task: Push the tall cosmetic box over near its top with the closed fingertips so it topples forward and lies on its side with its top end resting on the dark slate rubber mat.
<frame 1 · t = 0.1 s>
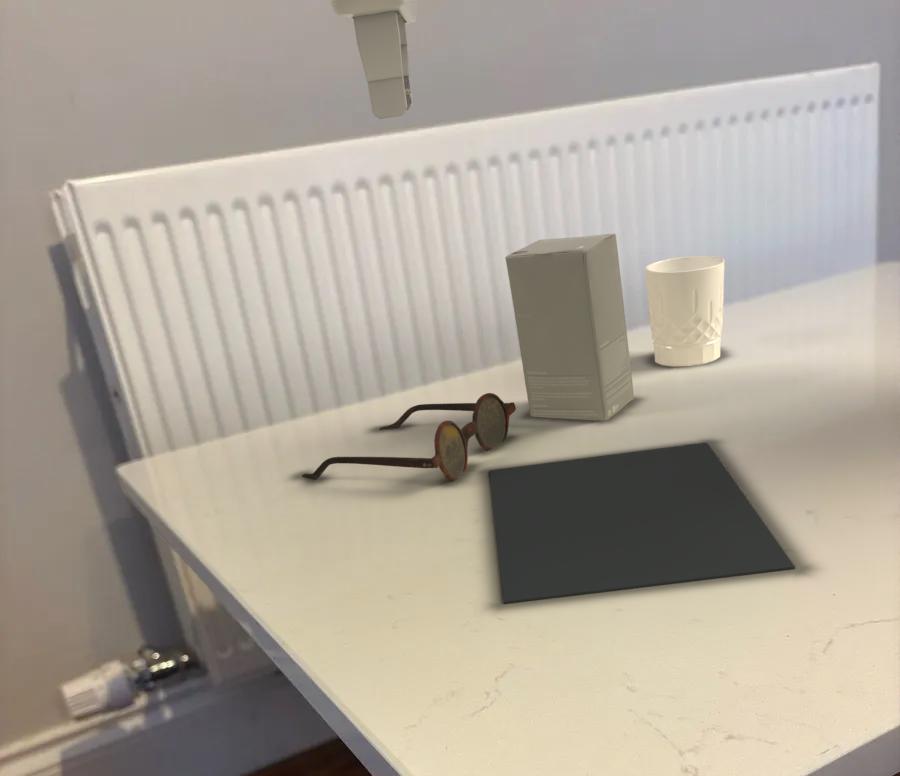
hand: (395, 114, 58), 28 cm above the table, tool pointing down, fingers open, 8 cm apart
white cup: (687, 363, 108), on the table
mat: (628, 540, 71), on the table
eyeglasses: (410, 461, 92), on the table
cosmetic box: (578, 415, 98), on the table
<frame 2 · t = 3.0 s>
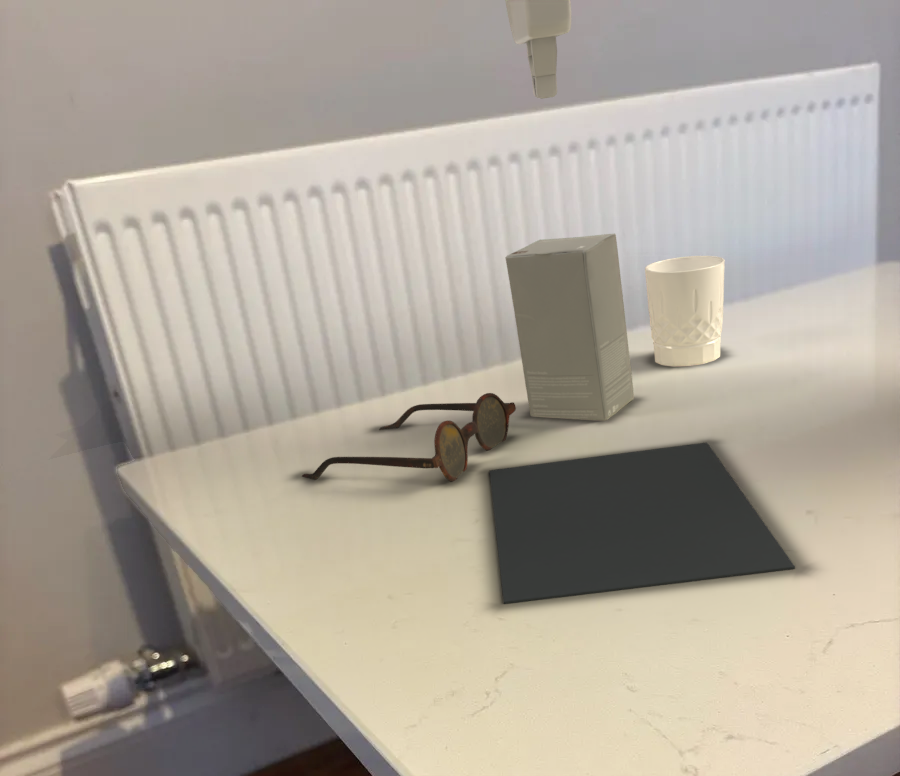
hand: (545, 97, 92), 27 cm above the table, tool pointing down, fingers closed
nothing on the table moved.
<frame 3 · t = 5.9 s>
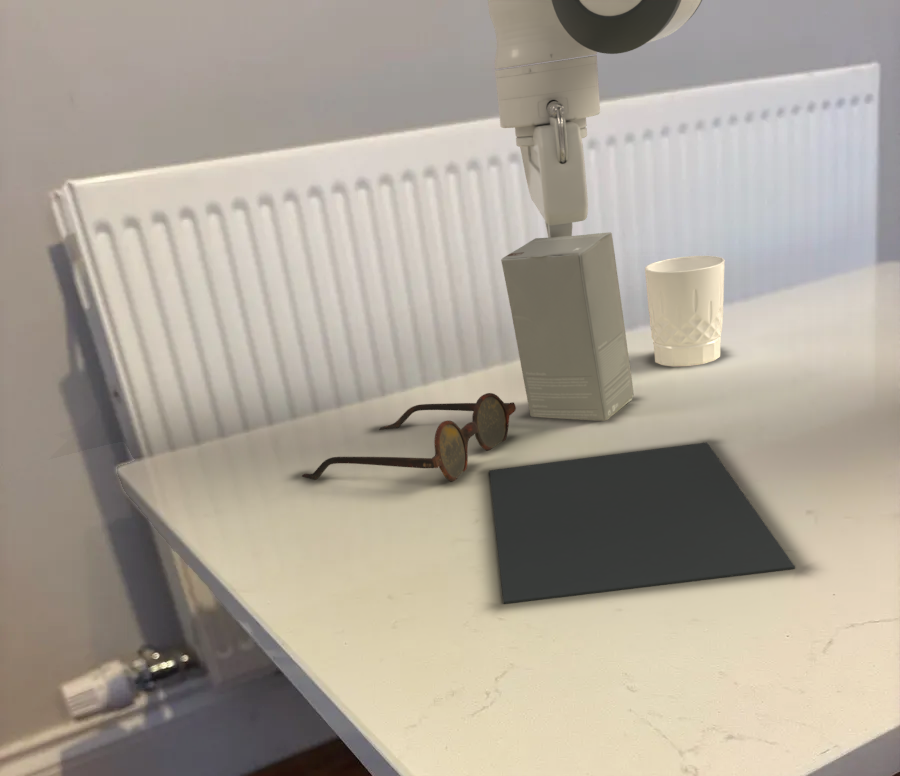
hand: (561, 262, 96), 13 cm above the table, tool pointing down, fingers closed
nothing on the table moved.
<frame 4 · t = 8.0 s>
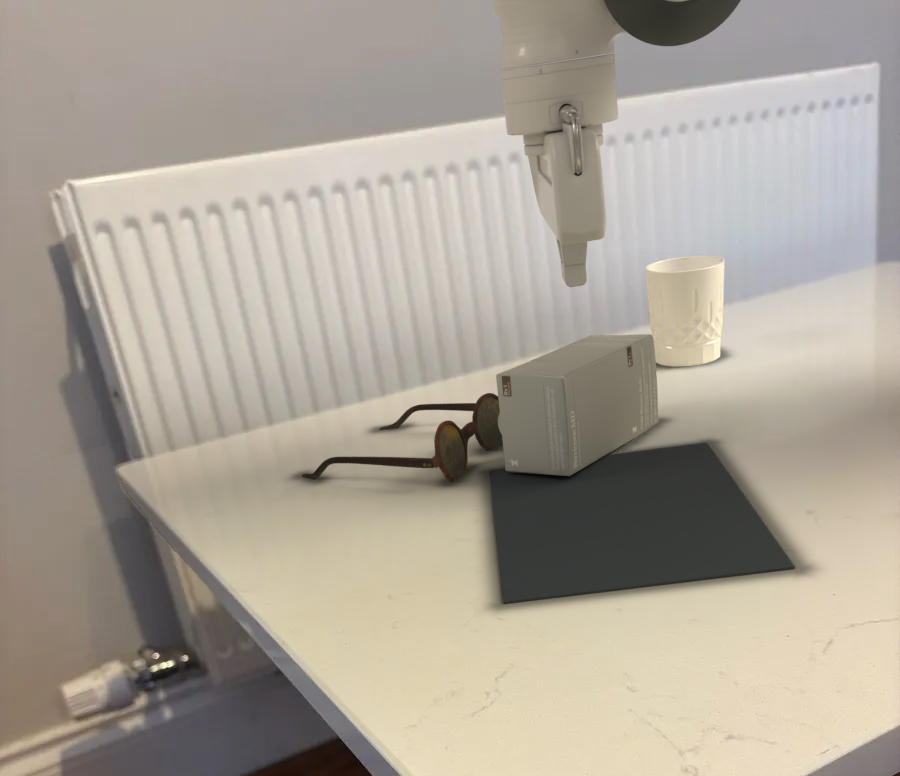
hand: (574, 283, 87), 13 cm above the table, tool pointing down, fingers closed
cosmetic box: (622, 375, 92), point 4 cm above the table, touching mat
everything else where it was.
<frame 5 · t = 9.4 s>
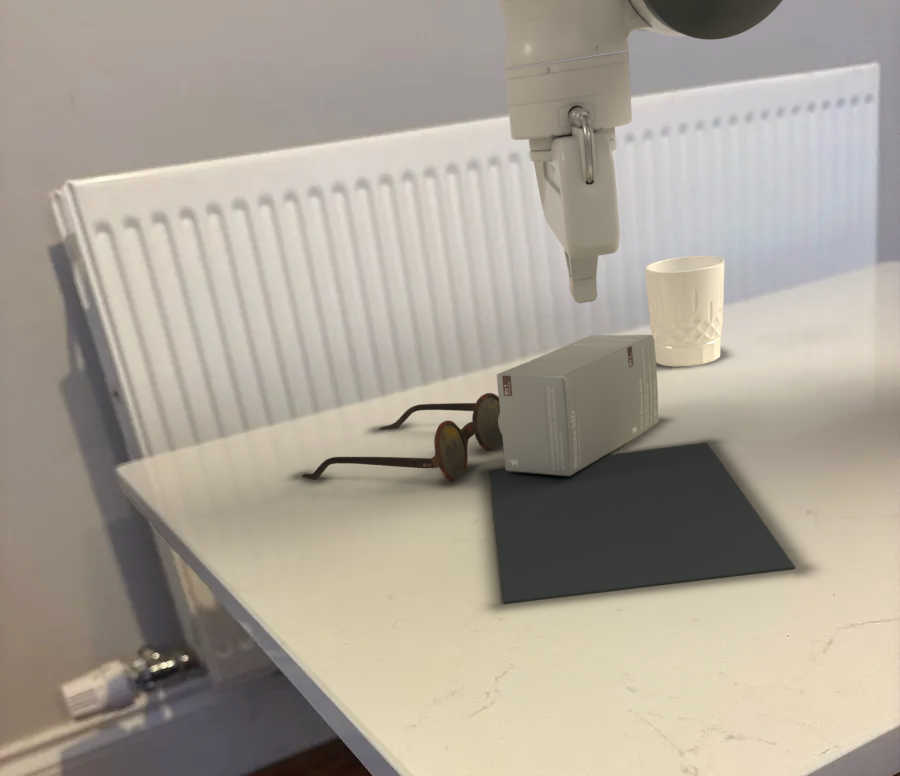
hand: (583, 299, 81), 13 cm above the table, tool pointing down, fingers closed
nothing on the table moved.
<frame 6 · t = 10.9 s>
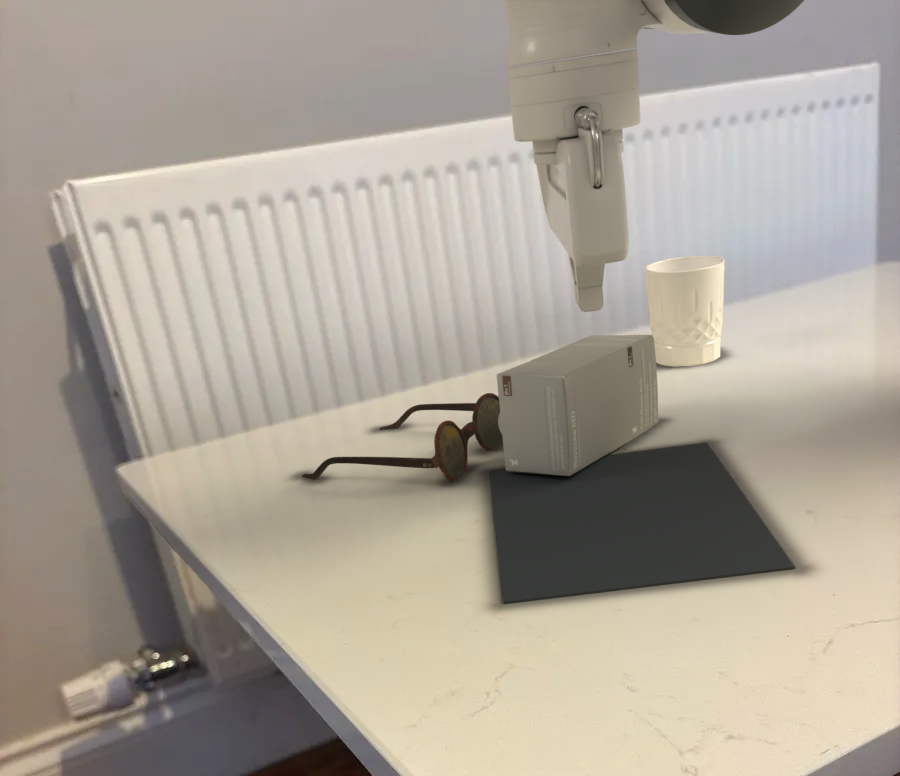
hand: (589, 307, 77), 13 cm above the table, tool pointing down, fingers closed
nothing on the table moved.
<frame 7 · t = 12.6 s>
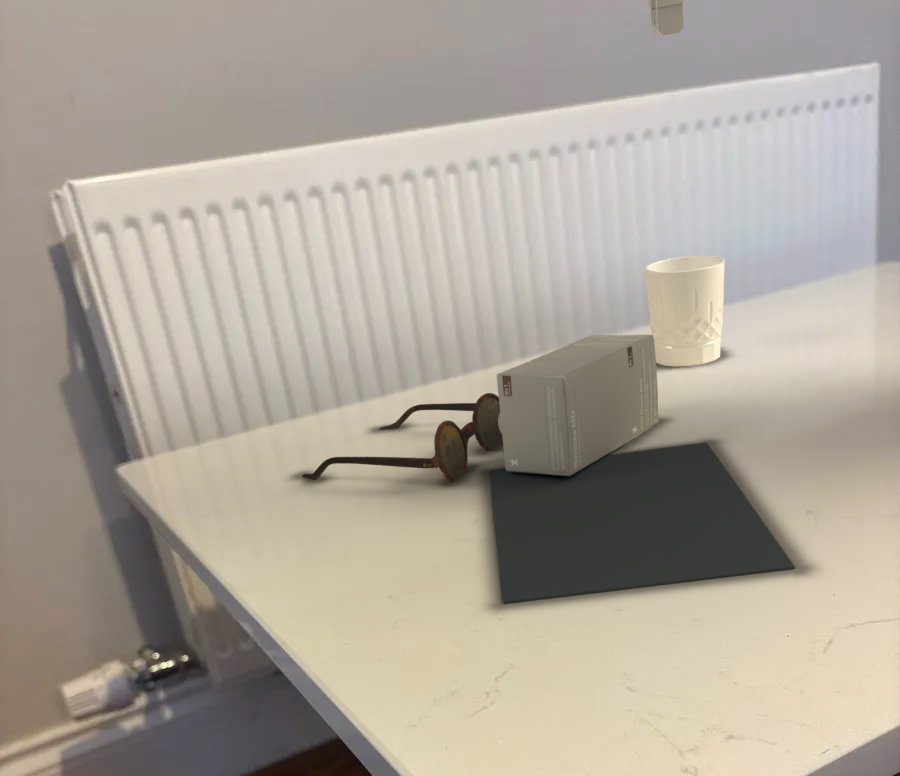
hand: (667, 34, 75), 30 cm above the table, tool pointing down, fingers closed
nothing on the table moved.
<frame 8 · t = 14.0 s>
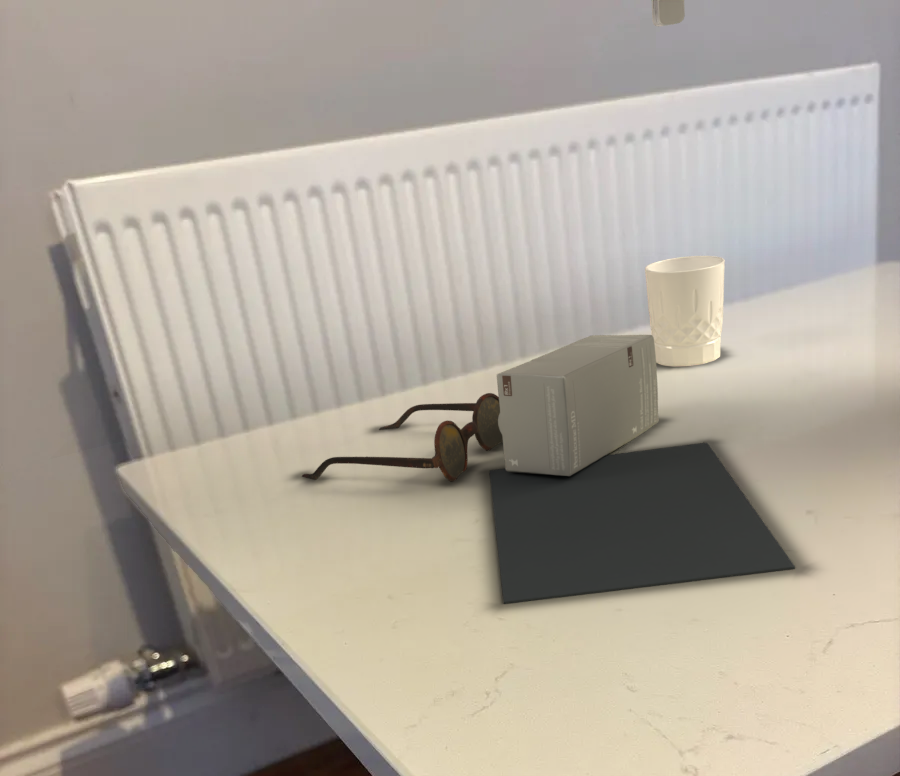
hand: (668, 25, 75), 31 cm above the table, tool pointing down, fingers closed
nothing on the table moved.
at the end: cosmetic box tilted 88°; cosmetic box touching mat, table; the gripper is holding nothing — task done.
